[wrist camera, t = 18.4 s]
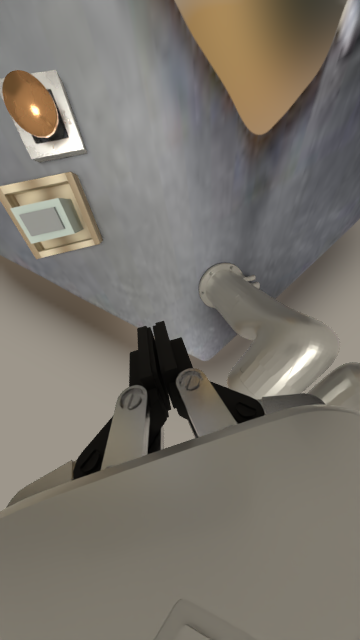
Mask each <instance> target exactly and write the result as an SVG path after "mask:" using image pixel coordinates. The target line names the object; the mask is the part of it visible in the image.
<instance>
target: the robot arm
mask: <svg viewBox="0 0 360 640" xmlns="http://www.w3.org/2000/svg"><path fill="white" fill-rule="evenodd" d="M230 266H231V267H230ZM253 280H255V276H254V275H251V276H249V277H245V276H243V274H242V272H241V270H240V269H239V268H238V267H237V266H235V265H233V264H230V263H220V264H217V265H214V266H213V267H211V268H210V269H208V270H207V271H206V272H205V274H204V275H203V276H202V278H201V281H200V284H199V295H200V298H201V299H202V301H203V302H204V303H205V304H206V305H207V306H209V307H212V308H216V309H217V310H218V311H219V313H220V314H221V315H222V316H223V318H224V319H225V320H226V321H227V323H228V324H229V325H230V326H231V327H232V329H233V330H234V331H235V332H236V333H237V334H238V335H240V336H241V337H243V338H245V339H249V340H254V342H253V343H252V344H251V346H250V347H249V349H248V350H247V351H246V352H245V354H244V355H243V356H242V357H241V358H240V360H239V361H238V362H237V363H236V365H235V366H234V367H233V368H232V370H231V372H230V373H229V375H228V379H227V385H228V388H226V387H223V386H221V385H218V384H215V383H213V382H210V381H209V380H208V378H207V377H206V375H205V374H204V373H203V372H202V371H201V370H199V369H196V368H193V367H192V364H191V361H190V359H189V356H188V353H187V351H186V348H185V345H184V343H183V340H182V338H177V339H174V340H171V341H170V340H169V337H168V333H167V330H166V326H165V323H164V321H162V322H158V323H156V326H153V331H154V336H153V333H152V331H151V328H150V327H149V328H147V326H144V327H140V328H138V329H137V331H138V350H136V351H133V352H131V353H130V377H129V378H130V379H129V381H130V382H129V383H130V384H129V387H128V388H127V389H125V390H124V391H123V392H122V393H121V394H120V396H119V397H118V400H117V403H116V407H115V411H114V415H113V417H112V418H111V419H110V420H109V422H108V423H107V424H106V425H105V426H104V427H103V428H102V430H101V431H100V432H99V433H98V434H97V435H96V437H95V438H94V439H93V440H92V441H91V442H90V444H89V445H88V446H87V447H86V448H85V450H84V451H83V452H82V453H81V455H80V456H79V457H78V459H77V460H76V461H72V460H71V461H69V462H67V463H66V464H64V465H62V466H60V467H59V468H57V469H55V470H54V471H52V472H50V473H48V474H47V475H45V476H43V477H41V478H40V479H38V480H36V481H34V482H33V483H31V484H29V485H27V486H26V487H24V488H23V489H22V490H20V491H19V492H18V493H17V494H16V495H15V496H14V497H13V498H12V500H11V501H10V502H9V504H8V506H7V507H6V508H5V509H4V510H2V511H0V640H360V363H356V362H352V363H346V364H343V365H341V366H339V367H338V368H336V369H335V370H333V371H332V372H331V373H329V374H328V375H327V376H326V377H324V378H323V379H322V380H321V381H320V382H319V383H318V384H317V385H315V386H314V387H313V388H312V389H311V390H310V391H309V392H308V393H307V394H305V393H303V394H300V393H301V392H302V391H304V390H305V389H306V388H307V387H309V386H310V385H311V384H312V383H313V382H314V381H315V380H316V379H317V378H318V377H319V376H321V375H322V374H323V373H324V372H325V371H326V370H327V369H328V368H329V367H330V366H331V364H332V363H333V362H334V360H335V359H336V357H337V355H338V353H339V349H340V341H339V338H338V336H337V334H336V333H335V332H334V331H333V330H332V329H331V328H330V327H328V326H327V325H326V324H324V323H323V322H321V321H319V320H317V319H315V318H313V317H310V316H308V315H306V314H303V313H301V312H298V311H296V310H294V309H291V308H290V307H287V306H285V305H284V304H282V303H280V302H279V301H277V300H275V299H274V298H272V297H270V296H269V295H267V294H266V293H264V292H263V291H261V290H260V289H259V288H260V284H259V283H258V282H254V283H249V281H253ZM202 291H203V292H202ZM154 337H155V339H154ZM168 394H169V395H168ZM169 396H170V399H171V401H172V405H173V407H174V408H177V411H178V414H179V415H180V416H182V417H183V418H185V419H187V420H188V423H189V425H190V428H191V430H192V432H193V435H194V437H195V439H192V440H189V441H186V442H183V443H180V444H177V445H174V446H171V447H168V448H165V449H164V429H163V425H164V423H165V421H166V420H167V417H169V415H168V410H171V406H170V401H169Z"/></svg>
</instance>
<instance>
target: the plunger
mask: <svg viewBox="0 0 360 640" xmlns="http://www.w3.org/2000/svg"><path fill="white" fill-rule="evenodd" d="M2 93H3V99H4V102H5V105H6V107H7V110H8V111H9V113H10V115H11V116H12V118H13V119H14V120H15V122H16V123H17V124H18V125H19V126H20V127H21V128H23V129H24V130H25V131H27V132H28V133H30V134H31V135H33V136H36V137H39V138H46V139H48V140H50V141H55V140H60V139H61V138H62V137H63V134H64V126H63V122H62V120H61V118H60V116H59V114H58V112H57V108H56V105H55V102H54V100H53V98H52V97H51V95H50V93H49V92H48V91H47V89H46V88H45V87H44V85H43V84H42V83H41V82H40V81H39V80H38V79H37V78H35V77H34V76H33V75H31V74H29V73H27V72H24V71H20V70H17V71H12V72H10V73H9V74H8V75H7V76H6V77H5V79H4V81H3V86H2Z"/></svg>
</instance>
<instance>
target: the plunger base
mask: <svg viewBox="0 0 360 640" xmlns="http://www.w3.org/2000/svg"><path fill="white" fill-rule="evenodd" d="M31 75H33V76H34V77H35V78H37V79H38V80H39V81H40V82H41V83H42V84H43V85H44V87H45V88H46V89H47V91H48V92H49V93H50V95H51V97H52V98H53V100H55V101H56V104H57V107H58V109H59V112H60V114H61V117H62V120H63V122H64V125H65V128H66V130H67V133H68V136H69V138H66V139H60V140H55V141H50V142H45V143H41V142H40V140H39V138H38V137H36V136H33V135H31V134H30V133H28V132H27V131H25V130H24V129H23V128H21V127H20V126H19V125H18V124H17V123H16V122H15V120H14V119H13V118H12V119H13V121H14V123H15V125H16V127H17V129H18V132H19V134H20V136H21V138H22V140H23V142H24V144H25V146H26V148H27V150H28V152H29V154H30V156H31V158H32V159H33V160H35V161H37V162H39V163H42V162H47V161H52V160H57V159H62V158H67V157H71V156H76V155H81V154H86V153H87V150H86V147H85V144H84V142H83V139H82V136H81V133H80V130H79V127H78V125H77V122H76V119H75V116H74V113H73V110H72V107H71V105H70V102H69V99H68V96H67V93H66V90H65V88H64V85H63V82H62V80H61V78H60V77H59V75H58V73H57V71H56V70H51V71H45V72H39V73H33V74H31ZM4 79H5V78H2V79H0V94H1V96H2V98H3V93H2V86H3V81H4ZM3 101H4V99H3ZM4 103H5V102H4ZM11 117H12V116H11Z"/></svg>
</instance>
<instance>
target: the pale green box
mask: <svg viewBox="0 0 360 640" xmlns="http://www.w3.org/2000/svg"><path fill="white" fill-rule="evenodd" d="M10 209H11V211H12V213H13V214H14V216H15V218H16V219H17V221H18V223H19V224H20V226H21V228H22V229H23V231H24V233H25V234H26V236H27V238H28V239H29V241H30V243H31V244H33V243H37V242H41V241H46V240H50V239H54V238H58V237H63V236H67V235H71V234H75V233H77V232H79V231H81V230H83V229H84V228H83V226H82V224H81V221H80V219H79V217H78V214H77V212H76V210H75V207H74V205H73V203H72V200H71V199H64V198H56V199H51V200H46V201H42V202H37V203H33V204H28V205H23V206H19V207H14V208H10Z"/></svg>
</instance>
